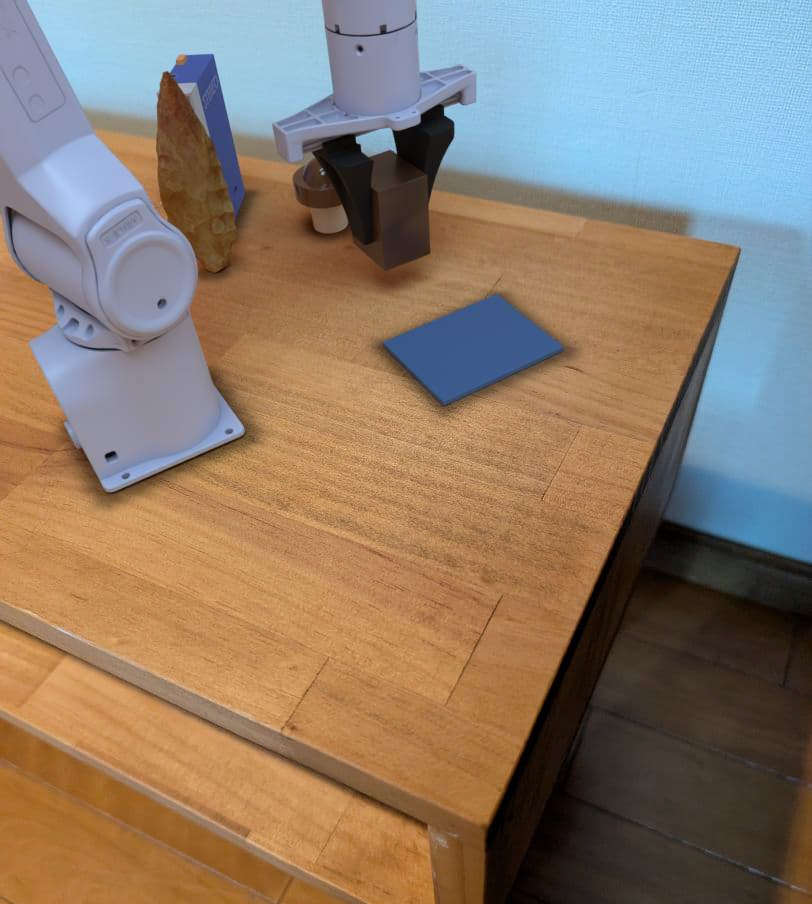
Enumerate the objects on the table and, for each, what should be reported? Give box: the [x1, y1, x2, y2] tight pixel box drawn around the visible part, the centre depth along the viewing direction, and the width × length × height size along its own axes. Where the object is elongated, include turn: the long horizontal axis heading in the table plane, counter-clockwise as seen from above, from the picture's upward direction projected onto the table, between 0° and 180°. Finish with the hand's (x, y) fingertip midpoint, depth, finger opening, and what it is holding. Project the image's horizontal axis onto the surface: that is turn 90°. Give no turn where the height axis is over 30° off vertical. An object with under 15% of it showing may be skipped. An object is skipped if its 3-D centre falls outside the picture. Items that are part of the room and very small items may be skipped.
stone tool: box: [155, 70, 237, 274], centre depth 58 cm, size 5×2×15 cm, turn 121°
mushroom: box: [291, 156, 349, 235], centre depth 65 cm, size 5×5×6 cm
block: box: [351, 149, 431, 272], centre depth 57 cm, size 4×5×6 cm
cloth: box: [382, 293, 565, 407], centre depth 55 cm, size 10×8×1 cm
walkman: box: [156, 53, 246, 221], centre depth 65 cm, size 8×3×12 cm, turn 176°
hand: (388, 228), depth 58 cm, fingers closed on block, 4 cm apart
